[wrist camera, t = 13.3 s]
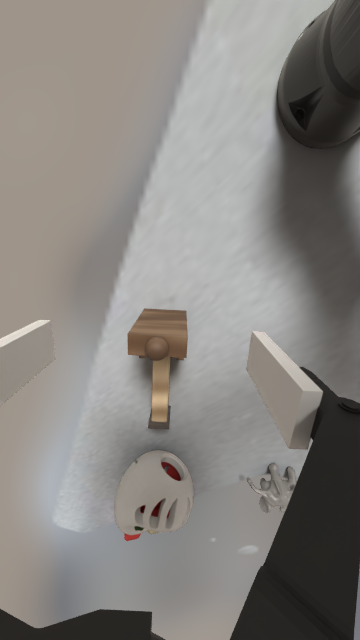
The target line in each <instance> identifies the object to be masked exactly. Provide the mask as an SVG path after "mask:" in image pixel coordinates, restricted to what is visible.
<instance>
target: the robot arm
mask: <svg viewBox="0 0 360 640" xmlns="http://www.w3.org/2000/svg"><path fill="white" fill-rule="evenodd" d="M278 108H279V113H280V116H281V119H282V122H283V124H284V126H285V128H286V129H287V131H288V132H289V133H290V135H291V136H292V137H293V138H294V139H295V140H297V141H298V142H300V143H301V144H303V145H306V146H308V147H312V148H329V147H333V146H336V145H338V144H341V143H343V142H344V141H346V140H348V139H349V138H351V137H352V136H354V135H355V134H357V133H358V132H359V131H360V0H335V1H334V2H333V3H332V5H331V6H330V7H329V8H328V9H327V10H326V11H324V12H323V13H321V14H320V15H319V16H317V17H316V18H315V19H314V20H313V21H312V22H311V23H310V24H309V25H308V26H307V27H306V28H305V30H304V31H303V32H302V33H301V35H300V36H299V38H298V39H297V41H296V42H295V44H294V46H293V48H292V50H291V51H290V53H289V55H288V57H287V59H286V61H285V63H284V66H283V68H282V71H281V75H280V79H279V84H278ZM54 360H55V351H54V342H53V333H52V325H51V321H49V320H38V321H36V322H34V323H32V324H30V325H28V326H26V327H24V328H22V329H20V330H18V331H16V332H13V333H12V334H9V335H7V336H5V337H3V338H1V339H0V406H1V405H2V404H3V403H5V402H6V401H7V400H8V399H9V398H10V397H11V396H13V395H14V394H15V393H16V392H17V391H19V390H20V389H21V388H22V387H23V386H24V385H26V383H28V382H29V381H30V380H31V379H33V378H34V377H35V376H36V375H37V374H38V373H40V372H41V371H42V370H43V369H44V368H45V367H46V366H48V365H49V364H50V363H51V362H52V361H54ZM246 369H247V371H248V373H249V375H250V377H251V379H252V380H253V382H254V384H255V386H256V388H257V390H258V392H259V394H260V395H261V397H262V399H263V401H264V403H265V405H266V407H267V408H268V410H269V412H270V414H271V416H272V418H273V420H274V421H275V423H276V425H277V427H278V429H279V431H280V433H281V435H282V436H283V438H284V440H285V442H286V444H287V446H288V448H289V449H307V450H308V446H309V442H310V439H311V438H312V440H313V443H312V445H311V448H310V450H309V453H308V455H307V458H306V460H305V463H304V465H303V468H302V471H301V473H300V476H299V478H298V481H297V483H296V486H295V488H294V491H293V493H292V496H291V498H290V501H289V503H288V506H287V508H286V511H285V513H284V516H283V518H282V521H281V523H280V526H279V528H278V531H277V533H276V536H275V538H274V541H273V544H272V546H271V548H270V551H269V553H268V556H267V558H266V561H265V563H264V565H263V566H261V568H260V569H259V571H258V573H257V575H256V577H255V580H254V582H253V585H252V587H251V589H250V592H249V594H248V597H247V599H246V601H245V604H244V607H243V609H242V611H241V614H240V616H239V619H238V621H237V623H236V626H235V628H234V631H233V633H232V636H231V638H230V640H354V625H355V613H356V600H357V589H358V577H359V565H360V404H359V403H357V402H355V401H353V400H350V399H346V398H341V397H338V396H337V395H336V394H335V393H334V392H333V391H331V390H330V389H329V388H328V387H327V386H326V385H325V384H324V383H323V382H322V381H321V380H320V379H318V377H317V376H316V375H315V374H313V373H312V372H311V371H309V370H307V369H305V368H304V367H298V366H297V365H296V364H295V363H294V362H293V361H292V360H291V359H290V358H289V357H288V356H287V355H286V354H285V353H284V352H283V351H282V350H281V349H280V348H279V347H278V346H277V345H276V344H275V343H274V342H273V341H272V340H271V339H270V338H269V337H268V336H267V335H266V334H265V333H264V332H256V331H252V335H251V342H250V348H249V355H248V361H247V368H246ZM151 627H152V612H144V611H122V610H101V609H100V610H97V611H94V612H91V613H88V614H84V615H81V616H78V617H76V618H72V619H69V620H66V621H63V622H60V623H57V624H54V625H50V626H48V627H44V628H34V627H32V626H30V625H28V624H26V623H24V622H23V621H21V620H19V619H17V618H15V617H14V616H12V615H10V614H8V613H7V612H5V611H3V610H1V609H0V640H165V639H163V638H162V637H160V636H158V635H156V634H154V633H152V632H151Z"/></svg>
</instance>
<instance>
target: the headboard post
mask: <svg viewBox="0 0 360 640" xmlns="http://www.w3.org/2000/svg"><path fill="white" fill-rule="evenodd" d="M187 340H188V335H187V317H186V311H178V310H160V309H144V310H143V312H142V313H141V315H140V316H139V318H138V319H137V321H136V322H135V324H134V325H133V327H132V328H131V330H130V331H129V333H128V355H139V358H146V357H148V358H149V359H151V360H153V361H160V360H162V359H164V358H165V357H177V360H184V358H186V355H187Z"/></svg>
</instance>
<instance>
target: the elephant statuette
mask: <svg viewBox="0 0 360 640" xmlns="http://www.w3.org/2000/svg"><path fill="white" fill-rule="evenodd" d="M269 470H270V471H271V481H265V479H264V478H262V479H261V482H260V484H261V488H262V489H257V488H256V487H255V486H254V485H253V484H252V482H251V480H250V478H247V482H248V483H249V484H250V486H251V488H252V489H253V490H254V491H255V492H257V493H259V494H261V495H263V496H262V497H261V499H260V503H259V504H260V507H261V509H262V510H263V511H264V512H266V513H268V512H270V511H271V508H272V507H275V506H280V511H281V512H285V511H286V508H287V506H288V503H289V501H290V498H291V496H292V493H293V491H294V488H295V486H296V483H297V480H296V475H295V471H294V470H293V468H291V467H288V469H287V472H288V480H282V479H281V478H280V475H279V473H278V466H277V465H276V464H275V463H273V464H270V465H269Z"/></svg>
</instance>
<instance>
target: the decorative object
mask: <svg viewBox="0 0 360 640" xmlns="http://www.w3.org/2000/svg"><path fill="white" fill-rule="evenodd" d="M166 465H167V466H168V469H167V470H166V469H165V466H166ZM193 499H194V489H193V482H192V478H191V475H190V473H189V471H188V469H187V467H186V466H185V464H184V463H183V462H182V461H181V460H180V459H179V458H178V457H177V456H175V455H174V454H172V453H170V452H167V451H162V450H154V451H150V452H147V453H145V454H143V455H141V456H140V457H138V458H137V459H136V460H135V461H134V462H133V463H132V464H131V465H130V466H129V467H128V469H127V470H126V472H125V473H124V475H123V477H122V479H121V481H120V483H119V485H118V488H117V491H116V496H115V504H114V511H115V519H116V524H117V526H118V528H119V529H120V530H121V531H122V532H123V533H125V537H124V538H125V540H126V541H129V540H134V539H137V538H138V537H139V536H140V534H141V533H143V532H146V531H148V532H149V533H150V534H154V533H158V532H172V531H175V530H178V529H180V528H181V527H183V526H184V525H185V524H186V522H187V521H188V518H189V516H190V513H191V509H192V505H193Z"/></svg>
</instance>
